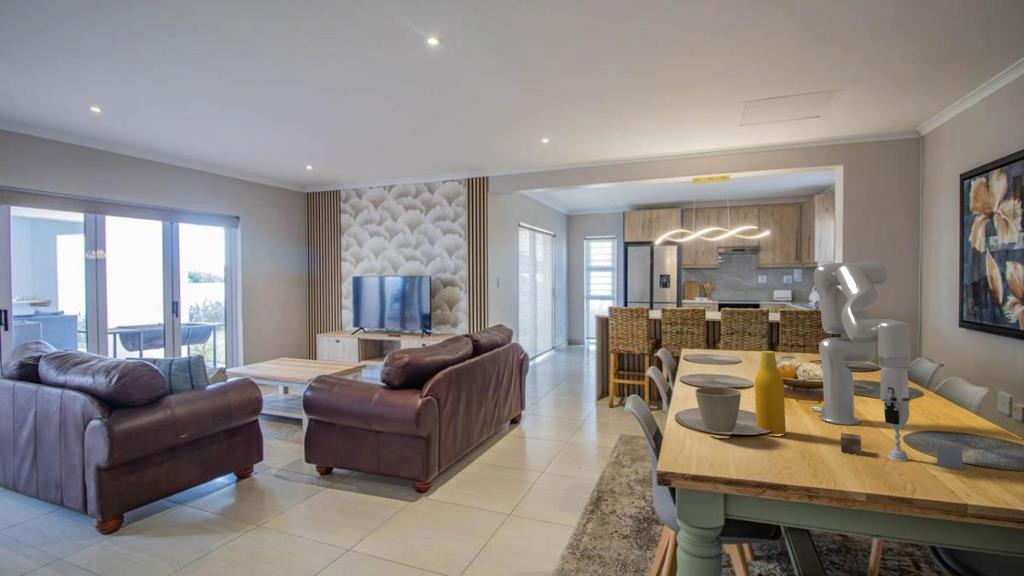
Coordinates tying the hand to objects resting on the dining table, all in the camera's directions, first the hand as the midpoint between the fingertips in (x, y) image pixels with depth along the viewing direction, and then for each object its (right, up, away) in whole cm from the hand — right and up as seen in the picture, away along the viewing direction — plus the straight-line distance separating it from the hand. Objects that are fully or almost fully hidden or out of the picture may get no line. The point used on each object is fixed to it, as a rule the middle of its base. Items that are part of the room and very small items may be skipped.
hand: (897, 420), depth 143 cm
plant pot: (-41, -13, +27) cm, 51 cm away
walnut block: (-9, -12, +7) cm, 16 cm away
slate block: (+10, -11, -7) cm, 16 cm away
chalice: (0, -12, 0) cm, 12 cm away
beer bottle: (-22, -13, +28) cm, 38 cm away
